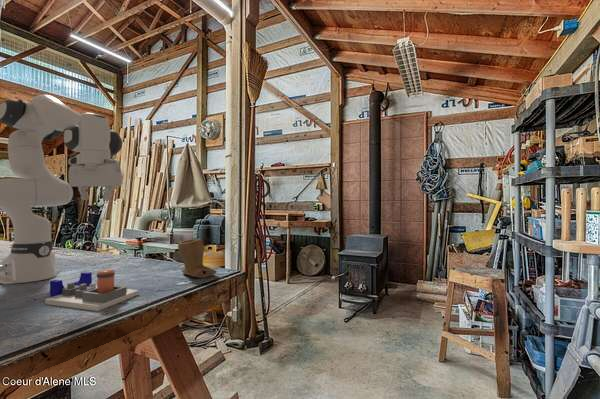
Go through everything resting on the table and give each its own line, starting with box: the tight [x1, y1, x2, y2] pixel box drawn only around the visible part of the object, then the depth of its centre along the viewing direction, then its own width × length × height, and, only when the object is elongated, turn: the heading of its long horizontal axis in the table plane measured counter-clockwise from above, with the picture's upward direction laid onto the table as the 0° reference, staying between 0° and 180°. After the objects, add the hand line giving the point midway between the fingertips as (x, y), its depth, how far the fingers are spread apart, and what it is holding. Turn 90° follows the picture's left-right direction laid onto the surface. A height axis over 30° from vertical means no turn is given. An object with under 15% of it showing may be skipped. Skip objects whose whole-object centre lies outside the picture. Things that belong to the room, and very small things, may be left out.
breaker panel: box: [44, 281, 139, 312], centre depth 97 cm, size 20×15×5 cm
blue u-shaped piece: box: [49, 271, 93, 298], centre depth 103 cm, size 12×4×6 cm, turn 167°
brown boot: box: [177, 238, 217, 279], centre depth 127 cm, size 15×12×15 cm
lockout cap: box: [96, 269, 116, 294], centre depth 94 cm, size 5×5×8 cm
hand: (95, 199), depth 108 cm, fingers open, 8 cm apart
